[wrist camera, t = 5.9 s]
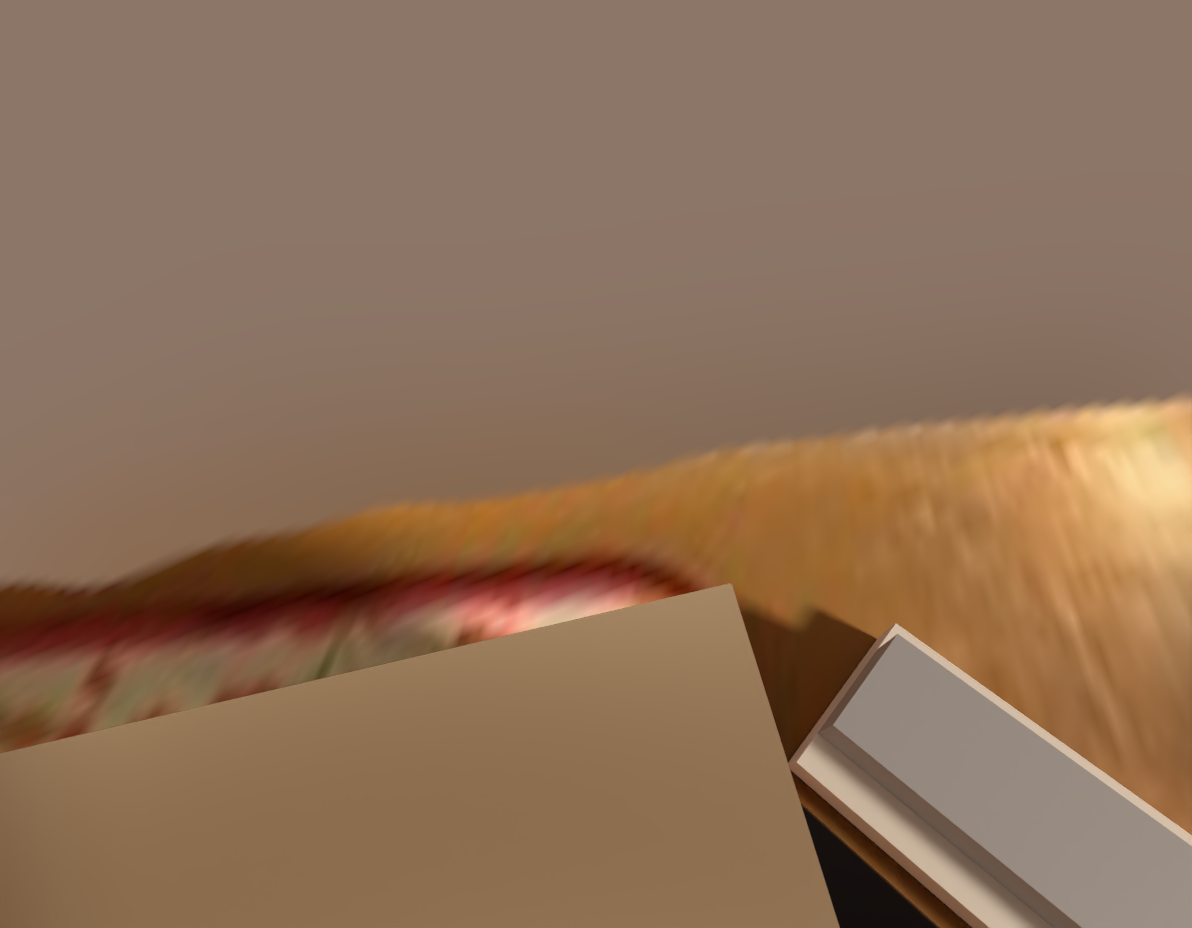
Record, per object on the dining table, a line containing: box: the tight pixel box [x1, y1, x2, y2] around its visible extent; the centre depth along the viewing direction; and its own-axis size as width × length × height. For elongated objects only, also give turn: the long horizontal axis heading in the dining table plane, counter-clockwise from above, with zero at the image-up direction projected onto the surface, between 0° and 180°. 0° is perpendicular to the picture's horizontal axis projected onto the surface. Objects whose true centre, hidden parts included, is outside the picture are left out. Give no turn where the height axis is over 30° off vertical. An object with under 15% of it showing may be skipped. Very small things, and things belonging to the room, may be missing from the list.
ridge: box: [788, 624, 1192, 928], centre depth 16 cm, size 16×5×4 cm, turn 48°
